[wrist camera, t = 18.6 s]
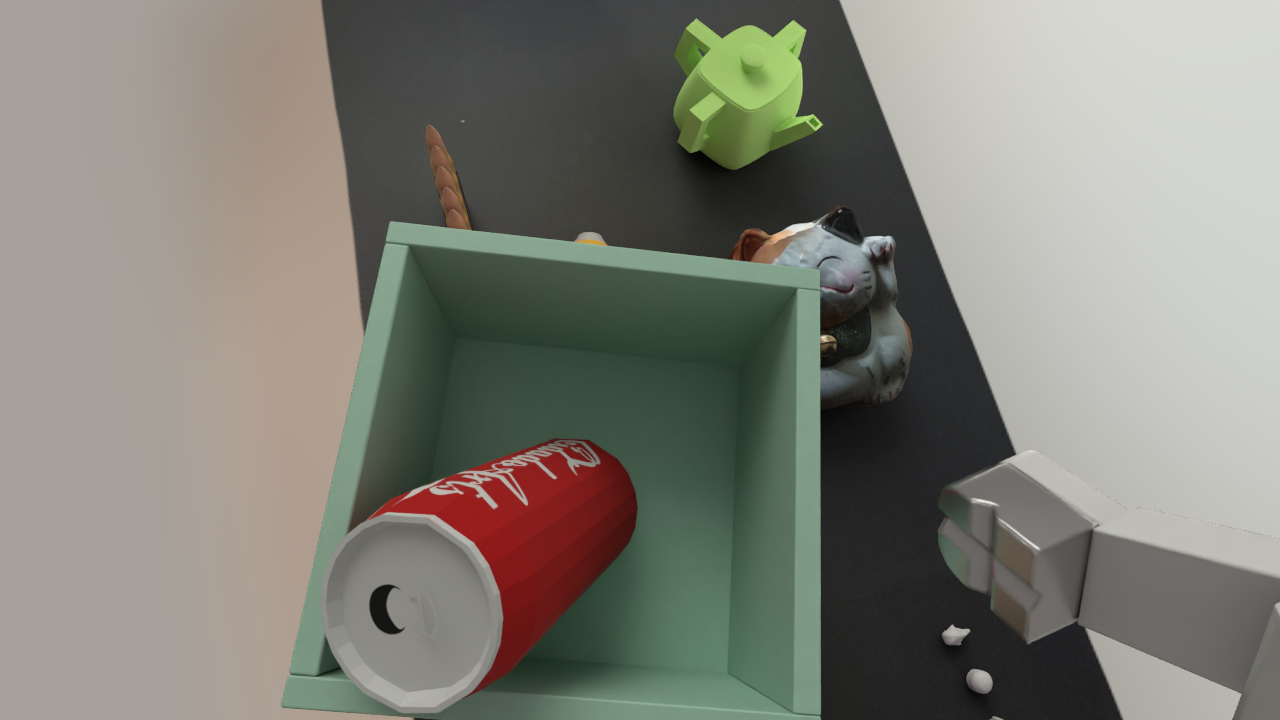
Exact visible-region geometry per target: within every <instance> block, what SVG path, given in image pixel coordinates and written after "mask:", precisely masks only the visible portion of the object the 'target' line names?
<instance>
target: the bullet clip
mask: <svg viewBox="0 0 1280 720" xmlns="http://www.w3.org/2000/svg"><path fill="white" fill-rule="evenodd" d="M426 141H427V146H428V149H429V154H430V162H431V166H432V169H433V172H434V175H435V176H434V178H435V182H436V185H437V189H438V193H439V197H440V200H441V204H442V208H443V212H444V215H445V219H446V223H447V227H448V228H454V229H463V230H472V231H474V228H473V224H472V220H471V217H470V213H469V210H468V206H467V202H466V199H465V196H464V193H463V189H462V186H461V183H460V179H459V176H458V173H457V171H455V169H454V165H453V162H452V159H451V157H450V156H449V154H448V153H447V150H446V148H445V146H444V143H443V141H442V139H441V137H440V135H439V133H438V132H437V131H436V129H435V128H434V127H433V126H431V125H428V126H427V129H426Z"/></svg>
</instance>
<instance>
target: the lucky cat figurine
mask: <svg viewBox="0 0 1280 720" xmlns="http://www.w3.org/2000/svg"><path fill="white" fill-rule="evenodd" d="M895 245H896V244H895V241H894V239H893V238H892V237H891V236H887V237H882V236H873V237H864V236H863V232H862V230H861V226H860V224H859V222H858V219H857V217H856V215H855V213H854V212H853V211H852V210H851V208H847V207H846V206H837V207H835V209H834V210H833V211H832V212H830V213H828V214H826V215H824V216H822V217H821V218H819V219H817V220H815V221H813V222H811V223H804V224H795V225H792V226H790V227H787V228H786V229H785V230H783V231H781V232H779V233H777V234H774V235H767V234H766V233H765V232H763V231H761V230H760V229H754V228H753V229H748V230H746V231H744V232H743V233H742V234H741V236H740V241H739V242H738V243H736V245H735V247H734V248H733V250H732V252H731V253H730V254H729V256H728V257H727V258H726V259H728V260H736V261H745V262H754V263H763V264H772V265H781V266H789V267H798V268H807V269H816V270H820V290H819V291H820V413H821V412H825V411H828V410H837V409H846V408H856V407H869V406H877V405H881V404H885V403H888V402H890V401H892V400H893V399H894V398H895V397H896V396H897V395H898V393H899V392H900V391H901V390H902V388H903V386H904V382H905V380H906V377H907V374H908V371H909V365H910V360H911V356H912V350H913V348H912V340H911V335H910V330H909V327H908V325H907V324H906V322H905V321H904V320H903V319H902V318H901V316H900V315H899V313H898V312H897V310H896V308H895V301H897V296H898V290H897V282H896V276H895V272H894V266H893V255H894V250H895Z"/></svg>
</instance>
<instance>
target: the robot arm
mask: <svg viewBox="0 0 1280 720" xmlns="http://www.w3.org/2000/svg"><path fill="white" fill-rule="evenodd" d="M938 508H939V509H940V510H942V511H943V512H944V513H945V514H946V517H945V519H944V520H943V522H942V524H941V525H940V527H939V529H938V538H939V548H940V550H941V552H942V555H943V557H944V559H945V562H946V564H947V565H948V566H949V568H950V569H951V570H952V572H953V573H954V574H955V576H956V577H957V578H958V579H959V580H960V581H961V582H962V583H963V584H964V585H965V586H966V587H967V588H970V589H973V590H976V591H979V592H982V593H985V594H988V597H989V602H990V607H991V610H992V611H993V612H994V613H995V614H996V615H997V616H998V617H999V618H1000V619H1001V620H1002V621H1003V622H1004V623H1006V624H1007V625H1008V626H1009V627H1010V628H1011V629H1012V630H1013V631H1014V632H1015V633H1016V634H1017V635H1018V636H1019V637H1020V638H1021V639H1023V640H1024V641H1025V642H1026V643H1027V644H1029V643H1031V642H1033V641H1035V640H1037V639H1040V638H1042V637H1044V636H1046V635H1048V634H1050V633H1052V632H1055V631H1057V630H1059V629H1061V628H1063V627H1065V626H1067V625H1070V624H1072V623H1074V622H1076V621H1078V625H1081V626H1083V627H1086V628H1088V629H1090V630H1093V631H1095V632H1097V633H1100V634H1102V635H1104V636H1107V637H1109V638H1112V639H1114V640H1116V641H1119V642H1121V643H1123V644H1126V645H1128V646H1130V647H1133V648H1135V649H1138V650H1140V651H1142V652H1145V653H1147V654H1149V655H1152V656H1154V657H1157V658H1159V659H1161V660H1164V661H1166V662H1168V663H1171V664H1173V665H1175V666H1178V667H1180V668H1182V669H1185V670H1187V671H1189V672H1192V673H1194V674H1196V675H1199V676H1201V677H1204V678H1206V679H1208V680H1211V681H1213V682H1215V683H1218V684H1220V685H1222V686H1225V687H1228V688H1230V689H1232V690H1234V691H1237V692H1239V693H1241V694H1242V695H1241V698H1240V701H1239V703H1238V706H1237V709H1236V711H1235V714H1234V717H1233V719H1232V720H1280V538H1277V537H1272V536H1268V535H1263V534H1258V533H1254V532H1250V531H1245V530H1240V529H1236V528H1232V527H1227V526H1223V525H1218V524H1214V523H1209V522H1205V521H1200V520H1195V519H1191V518H1187V517H1182V516H1178V515H1173V514H1169V513H1164V512H1160V511H1155V510H1151V509H1146V508H1142V507H1139V508H1136V509H1134V510H1132V511H1131V510H1129V509H1128V508H1126V507H1125V506H1123V505H1121V504H1120V503H1118V502H1117V501H1115V500H1114V499H1112V498H1110V497H1109V496H1107V495H1106V494H1104V493H1103V492H1101V491H1099V490H1098V489H1096V488H1095V487H1093V486H1091V485H1090V484H1088V483H1086V482H1085V481H1084V480H1082V479H1080V478H1079V477H1077V476H1076V475H1074V474H1072V473H1071V472H1069V471H1068V470H1066V469H1064V468H1063V467H1062V466H1060V465H1058V464H1057V463H1055V462H1054V461H1052V460H1050V459H1049V458H1047V457H1046V456H1044V455H1042V454H1041V453H1039V452H1036V451H1032V450H1026V451H1024V452H1022V453H1019V454H1017V455H1015V456H1013V457H1010V458H1008V459H1006V460H1003V461H1001V462H999V463H998V464H993V465H991V466H989V467H986V468H984V469H982V470H980V471H978V472H975V473H973V474H971V475H969V476H967V477H965V478H962V479H960V480H958V481H956V482H954V483H951V484H949V485H947V486H945V487H943V489H942V490H941V492H940V494H939V503H938Z"/></svg>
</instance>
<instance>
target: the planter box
mask: <svg viewBox="0 0 1280 720" xmlns="http://www.w3.org/2000/svg"><path fill="white" fill-rule="evenodd" d="M819 290H820V270H816V269H807V268H798V267H789V266H781V265H772V264H763V263H754V262H745V261H736V260H728V259H719V258H710V257H701V256H692V255H683V254H675V253H666V252H657V251H648V250H639V249H630V248H622V247H613V246H604V245H595V244H586V243H578V242H569V241H560V240H551V239H542V238H533V237H525V236H516V235H507V234H498V233H489V232H480V231H472V230H463V229H454V228H445V227H436V226H428V225H419V224H410V223H401V222H392V221H391V222H390V223H389V227H388V232H387V236H386V244H385V247H384V251H383V256H382V260H381V265H380V269H379V274H378V278H377V282H376V287H375V291H374V296H373V300H372V305H371V309H370V314H369V318H368V323H367V327H366V331H365V336H364V340H363V345H362V349H361V354H360V358H359V363H358V367H357V372H356V376H355V381H354V385H353V389H352V394H351V398H350V403H349V407H348V412H347V416H346V421H345V425H344V429H343V434H342V438H341V443H340V447H339V452H338V456H337V461H336V465H335V470H334V474H333V478H332V483H331V487H330V492H329V496H328V501H327V505H326V510H325V514H324V519H323V523H322V527H321V532H320V536H319V541H318V545H317V550H316V555H315V559H314V563H313V568H312V572H311V577H310V581H309V586H308V590H307V594H306V599H305V603H304V608H303V612H302V617H301V621H300V625H299V630H298V635H297V639H296V643H295V648H294V652H293V657H292V661H291V666H290V670H289V671H290V674H291V675H289V676H288V677H287V681H286V686H285V691H284V695H283V699H282V703H281V707H283V708H294V709H308V710H320V711H333V712H347V713H360V714H374V715H388V716H401V717H414V718H427V719H440V720H821V718H820V716H819V715H821V534H820V291H819ZM554 438H557V439H582V440H590V441H591V442H593V443H594V444H596V445H597V446H599V447H600V448H602V449H603V450H605V451H607V452H608V453H610V454H611V455H613V456H614V457H616V458H617V459H618V460H619V461H620V462H621V464H622V465H623V466H624V468H625V469H626V471H627V472H628V474H629V476H630V479H631V481H632V484H633V486H634V489H635V491H636V498H637V505H638V510H637V519H636V527H635V530H634V532H633V535H632V537H631V540H630V542H629V543H628V545H627V546H626V547H625V549H624V550H623V551H622V552H621V554H620V555H619V556H618V557H617V558H616V560H615V561H614V562H613V563H612V564H611V565H610V566H609V567H608V568H607V569H606V570H605V571H604V572H603V573H602V574H601V575H600V577H599V578H598V579H597V580H596V581H595V582H594V583H593V584H592V585H591V586H590V587H589V588H588V589H587V590H586V591H585V592H584V594H583V595H582V596H581V597H580V598H579V599H578V600H577V601H576V602H575V603H574V604H573V605H572V606H571V607H570V608H569V609H568V611H567V612H566V613H565V614H564V615H563V616H562V617H561V618H560V619H559V620H558V621H557V622H556V623H555V624H554V625H553V626H552V628H551V629H550V630H549V631H548V632H547V633H546V634H545V635H544V636H543V637H542V638H541V639H540V640H539V641H538V642H537V643H536V645H535V646H534V647H533V648H532V649H531V650H530V651H529V652H528V653H527V654H526V655H525V656H524V657H523V658H522V659H521V660H520V662H519V663H518V664H517V665H516V666H515V667H514V668H513V669H512V670H511V671H510V672H509V673H508V674H506V675H505V676H503V677H501V678H500V679H498V680H497V681H495V682H493V683H492V684H490V685H488V686H487V687H485V688H483V689H482V690H480V691H479V692H477V693H474V694H472V695H470V696H468V697H466V698H463V699H461V700H459V701H457V702H455V703H453V704H452V705H450V706H449V707H447V708H445V709H444V710H442V711H441V712H439V713H400V712H398V711H396V710H395V709H393V708H391V707H389V706H387V705H385V704H383V703H381V702H379V701H378V700H376V699H374V698H372V697H370V696H368V695H366V694H364V693H363V692H362V691H361V690H360V689H359V688H358V687H357V686H356V685H355V684H354V683H353V682H352V681H351V680H350V679H349V678H348V677H347V676H346V674H345V673H344V671H343V669H342V668H341V666H340V665H339V663H338V662H337V660H336V658H335V657H334V655H333V654H332V651H331V648H330V645H329V642H328V640H327V637H326V634H325V631H324V627H323V620H322V612H321V604H320V603H321V593H322V582H323V577H324V574H325V571H326V568H327V566H328V563H329V560H330V557H331V555H332V554H333V552H334V551H335V549H336V548H337V546H338V545H339V543H340V542H341V540H342V539H343V538H344V537H345V536H346V535H347V534H348V533H350V532H351V531H352V530H353V529H354V528H356V527H357V526H358V525H359V524H360V523H363V522H365V521H366V520H367V519H368V518H369V517H370V516H372V515H373V514H374V513H375V512H376V511H377V510H378V509H380V508H381V507H382V506H383V505H384V504H386V503H387V502H388V501H389V500H391V499H392V498H395V497H397V496H400V495H402V494H404V493H407V492H409V491H412V490H414V489H417V488H419V487H422V486H425V485H428V484H430V483H433V482H436V481H439V480H441V479H444V478H447V477H449V476H452V475H455V474H458V473H460V472H463V471H466V470H469V469H471V468H474V467H477V466H480V465H482V464H485V463H488V462H491V461H493V460H496V459H499V458H502V457H504V456H507V455H510V454H513V453H515V452H518V451H521V450H524V449H526V448H529V447H532V446H535V445H537V444H540V443H543V442H546V441H548V440H551V439H554Z"/></svg>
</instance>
